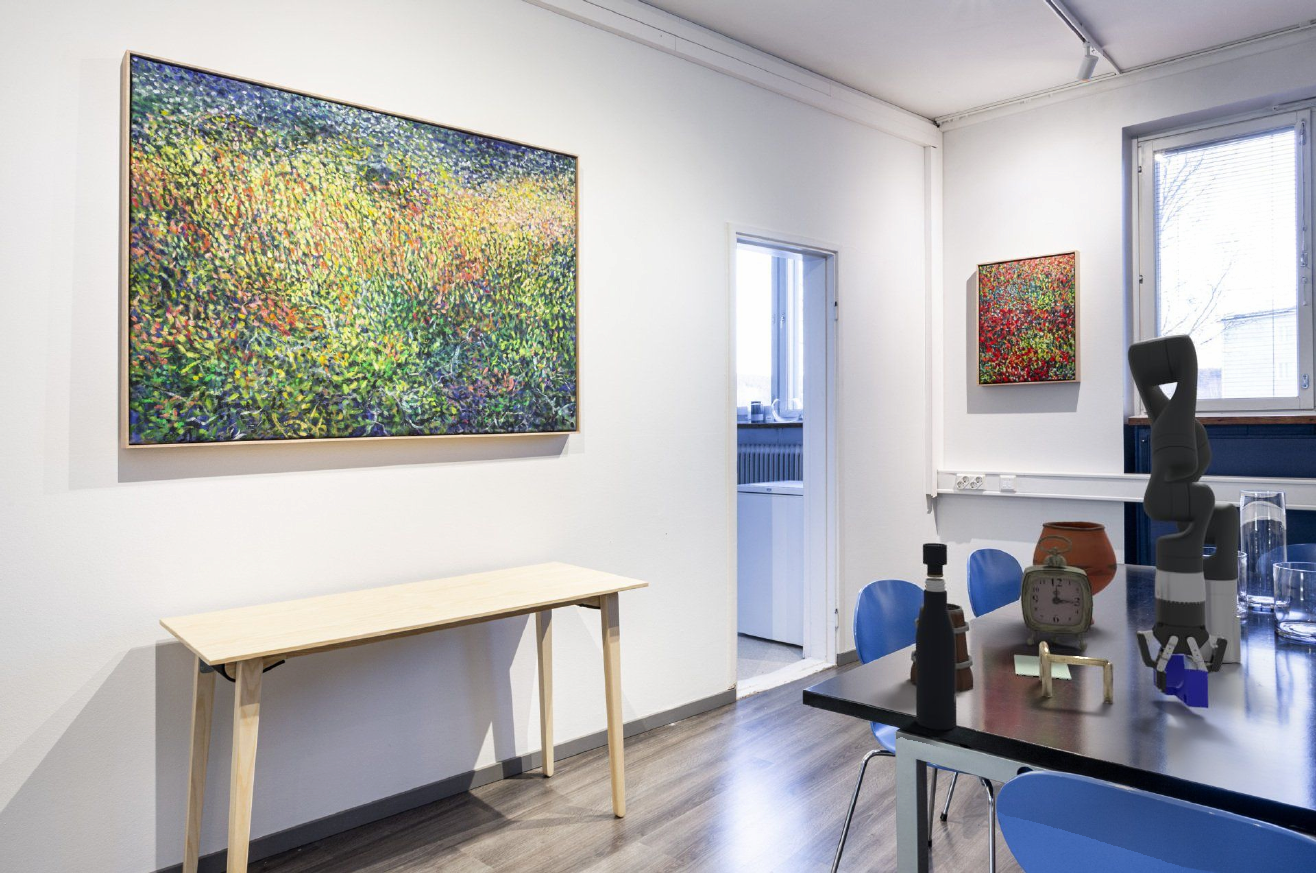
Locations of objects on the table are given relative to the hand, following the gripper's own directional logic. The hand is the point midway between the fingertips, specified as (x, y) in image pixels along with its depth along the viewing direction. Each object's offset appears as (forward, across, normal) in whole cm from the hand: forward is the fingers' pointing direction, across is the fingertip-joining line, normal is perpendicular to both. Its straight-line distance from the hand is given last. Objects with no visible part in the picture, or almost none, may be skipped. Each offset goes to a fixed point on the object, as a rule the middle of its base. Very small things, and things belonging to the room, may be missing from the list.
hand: (1180, 692), depth 146 cm
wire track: (+3, +16, -5) cm, 17 cm away
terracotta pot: (+4, +11, -68) cm, 69 cm away
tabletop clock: (+3, +17, -41) cm, 44 cm away
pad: (+3, +21, -20) cm, 29 cm away
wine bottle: (+3, +39, +22) cm, 45 cm away
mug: (+3, +39, -4) cm, 40 cm away
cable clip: (+1, 0, -1) cm, 1 cm away
